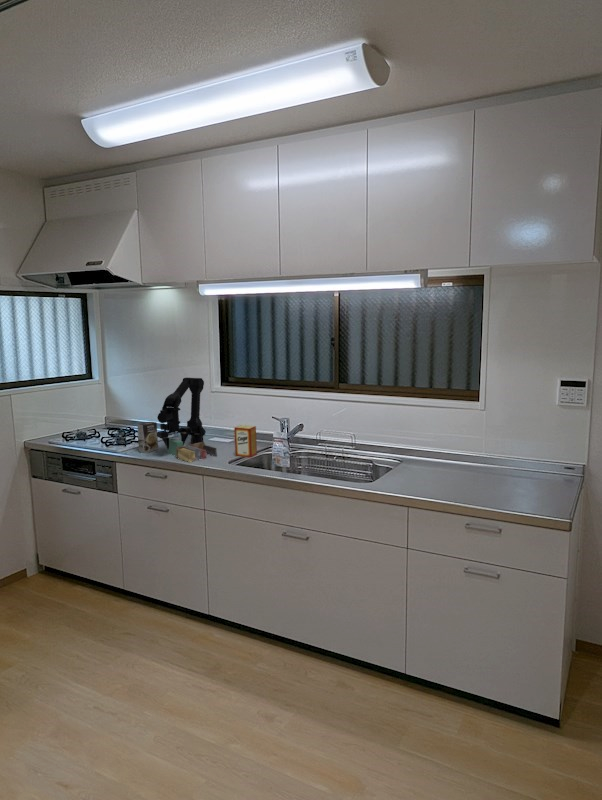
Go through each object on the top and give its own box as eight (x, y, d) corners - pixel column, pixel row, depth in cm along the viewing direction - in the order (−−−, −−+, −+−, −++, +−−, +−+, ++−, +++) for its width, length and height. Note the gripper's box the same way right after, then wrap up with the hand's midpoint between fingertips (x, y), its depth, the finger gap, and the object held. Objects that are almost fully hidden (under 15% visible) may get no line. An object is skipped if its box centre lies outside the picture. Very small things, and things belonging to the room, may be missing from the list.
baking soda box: (256, 454, 303) (255, 425, 300) (251, 457, 297) (249, 428, 294) (241, 453, 306) (240, 424, 304) (235, 456, 300) (234, 426, 298)
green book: (173, 452, 312) (172, 438, 311) (183, 455, 304) (182, 441, 303) (167, 453, 310) (166, 439, 309) (178, 456, 302) (177, 442, 301)
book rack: (203, 452, 310) (203, 441, 309) (216, 456, 301) (216, 445, 300) (176, 458, 299) (176, 447, 298) (189, 462, 290) (188, 451, 289)
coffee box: (145, 453, 311) (143, 425, 309) (138, 451, 315) (136, 423, 313) (159, 449, 318) (157, 422, 316) (151, 448, 322) (149, 421, 320)
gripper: (180, 415, 316) (182, 442, 319) (150, 420, 304) (152, 448, 306) (191, 417, 308) (192, 445, 311) (161, 423, 296) (162, 451, 298)
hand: (175, 447), depth 307 cm, fingers open, 9 cm apart
